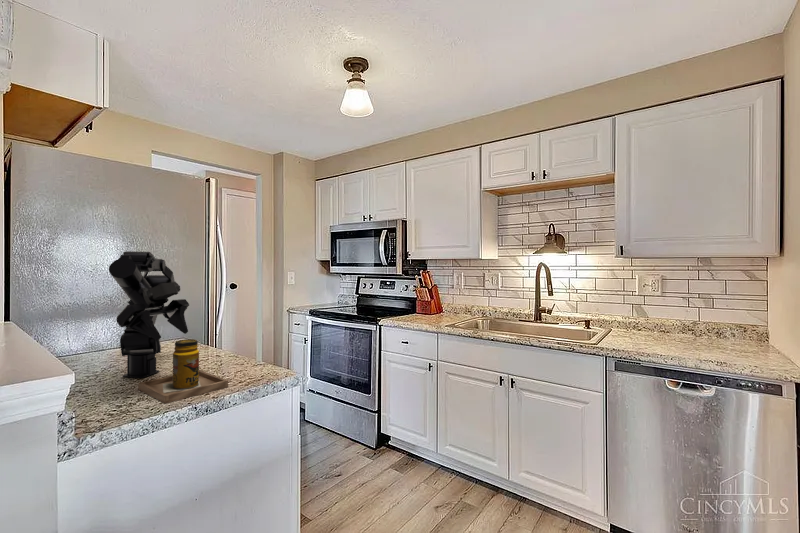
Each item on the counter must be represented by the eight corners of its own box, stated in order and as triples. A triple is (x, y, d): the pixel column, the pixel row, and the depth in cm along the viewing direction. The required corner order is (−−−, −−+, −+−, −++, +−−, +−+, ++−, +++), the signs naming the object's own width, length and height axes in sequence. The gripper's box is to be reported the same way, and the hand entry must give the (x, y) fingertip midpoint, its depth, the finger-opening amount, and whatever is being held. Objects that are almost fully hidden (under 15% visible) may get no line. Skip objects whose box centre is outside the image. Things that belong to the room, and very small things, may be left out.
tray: (164, 403, 92) (164, 396, 91) (138, 389, 101) (138, 382, 101) (228, 386, 104) (228, 380, 104) (199, 375, 113) (199, 369, 113)
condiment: (201, 388, 101) (202, 342, 101) (163, 393, 97) (163, 345, 97) (198, 380, 107) (199, 337, 107) (162, 385, 103) (163, 340, 103)
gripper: (127, 272, 95) (164, 320, 93) (184, 271, 113) (216, 311, 111) (100, 302, 97) (135, 350, 95) (160, 296, 115) (192, 337, 113)
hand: (173, 335), depth 103 cm, fingers open, 9 cm apart
